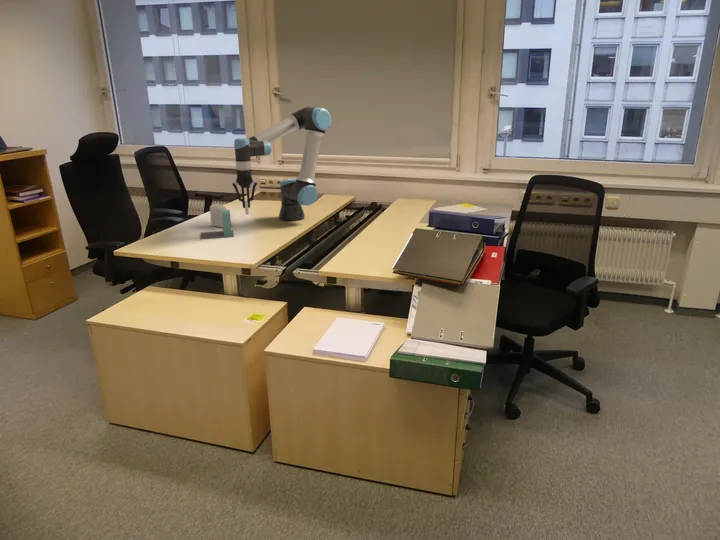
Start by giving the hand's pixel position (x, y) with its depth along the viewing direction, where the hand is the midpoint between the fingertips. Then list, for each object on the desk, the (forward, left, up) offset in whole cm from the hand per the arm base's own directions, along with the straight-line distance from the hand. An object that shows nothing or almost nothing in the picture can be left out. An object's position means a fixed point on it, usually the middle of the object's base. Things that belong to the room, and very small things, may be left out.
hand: (247, 213), depth 280 cm
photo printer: (+15, -19, -11) cm, 26 cm away
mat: (+16, 0, -10) cm, 19 cm away
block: (+11, 0, -10) cm, 15 cm away
